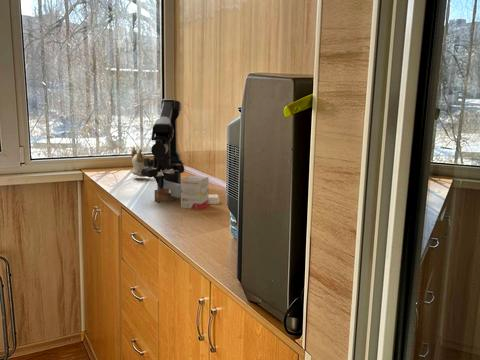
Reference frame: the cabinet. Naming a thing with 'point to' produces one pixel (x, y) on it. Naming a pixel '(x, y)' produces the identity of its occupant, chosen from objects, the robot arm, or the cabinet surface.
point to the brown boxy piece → (163, 195)
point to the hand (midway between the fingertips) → (163, 190)
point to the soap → (213, 199)
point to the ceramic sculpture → (138, 162)
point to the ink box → (194, 192)
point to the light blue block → (172, 188)
